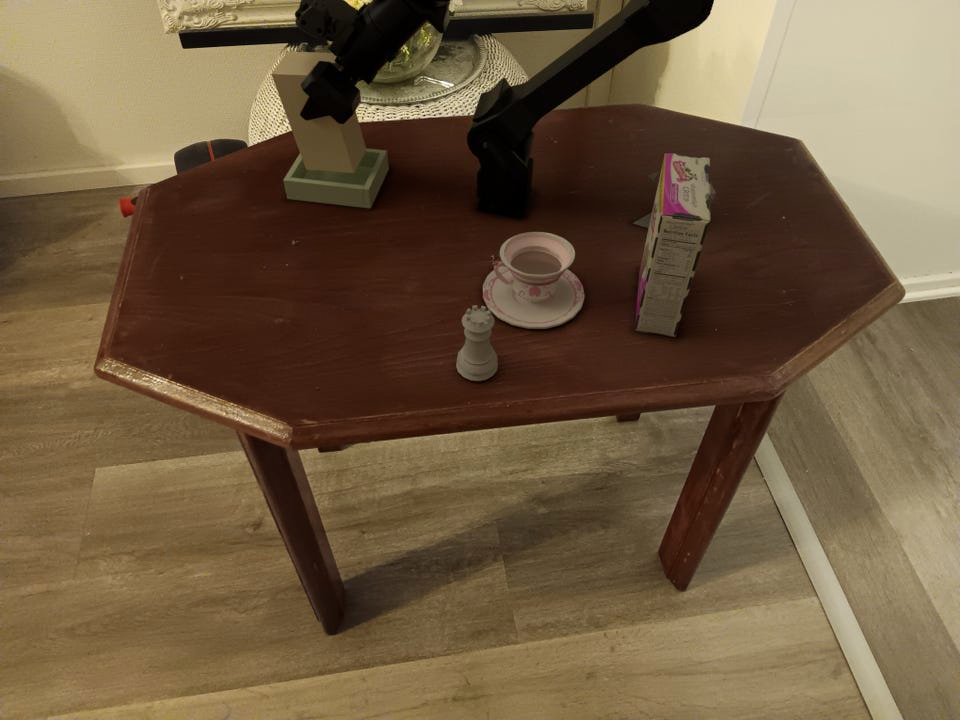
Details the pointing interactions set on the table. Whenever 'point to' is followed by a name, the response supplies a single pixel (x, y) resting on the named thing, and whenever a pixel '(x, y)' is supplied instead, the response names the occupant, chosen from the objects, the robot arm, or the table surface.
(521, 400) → the table surface
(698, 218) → the candy bar box
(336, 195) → the socket
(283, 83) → the tan rectangular block
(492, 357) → the rook chess piece
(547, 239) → the teacup
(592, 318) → the table surface
